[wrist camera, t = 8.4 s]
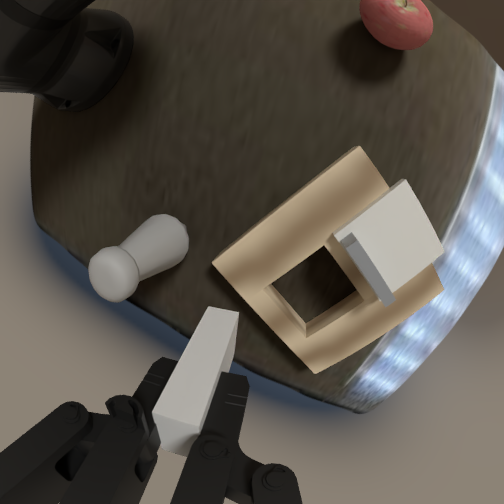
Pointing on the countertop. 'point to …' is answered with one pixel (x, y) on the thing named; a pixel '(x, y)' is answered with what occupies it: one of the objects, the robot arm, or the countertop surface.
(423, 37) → the apple
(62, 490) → the robot arm
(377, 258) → the shutter
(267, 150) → the countertop surface
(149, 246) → the salt shaker
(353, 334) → the socket board
